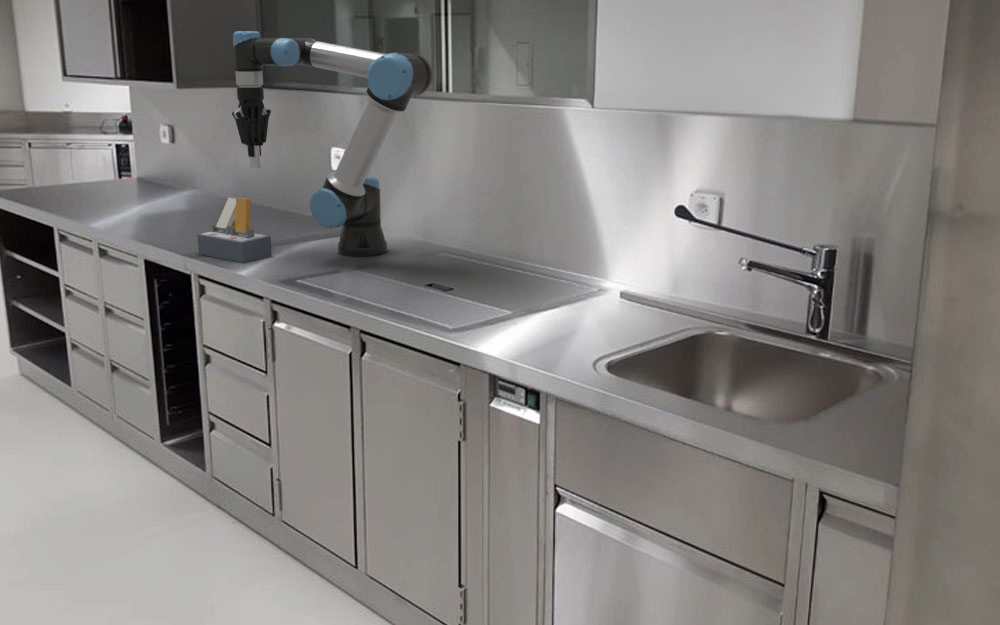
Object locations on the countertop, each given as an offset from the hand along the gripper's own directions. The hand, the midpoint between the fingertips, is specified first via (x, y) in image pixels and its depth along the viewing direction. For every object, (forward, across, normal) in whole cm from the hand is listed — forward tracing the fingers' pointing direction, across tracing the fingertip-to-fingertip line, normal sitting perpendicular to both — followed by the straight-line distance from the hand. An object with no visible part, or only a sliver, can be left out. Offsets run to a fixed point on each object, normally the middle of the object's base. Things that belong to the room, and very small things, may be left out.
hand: (255, 167), depth 276 cm
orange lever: (+18, +7, 0) cm, 20 cm away
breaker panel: (+26, +7, -4) cm, 27 cm away
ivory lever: (+19, +7, -9) cm, 22 cm away
